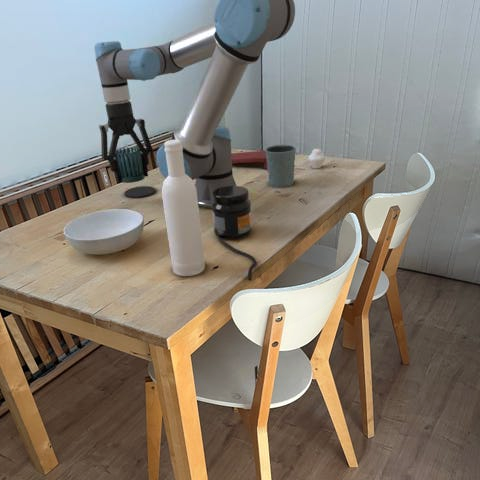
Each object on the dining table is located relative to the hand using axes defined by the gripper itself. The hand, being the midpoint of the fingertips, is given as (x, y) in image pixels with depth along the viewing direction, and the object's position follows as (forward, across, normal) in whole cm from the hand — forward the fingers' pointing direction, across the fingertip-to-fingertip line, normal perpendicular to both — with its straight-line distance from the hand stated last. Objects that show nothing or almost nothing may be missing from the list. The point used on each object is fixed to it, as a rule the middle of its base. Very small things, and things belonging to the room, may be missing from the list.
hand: (132, 178), depth 155 cm
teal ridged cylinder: (-4, +4, 0) cm, 6 cm away
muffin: (+9, -70, +4) cm, 70 cm away
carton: (+9, -51, -18) cm, 55 cm away
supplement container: (+9, -15, +41) cm, 44 cm away
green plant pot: (+9, -49, +12) cm, 51 cm away
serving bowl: (+9, +17, +29) cm, 35 cm away
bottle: (+9, +4, +54) cm, 55 cm away
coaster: (+8, -5, -10) cm, 14 cm away
